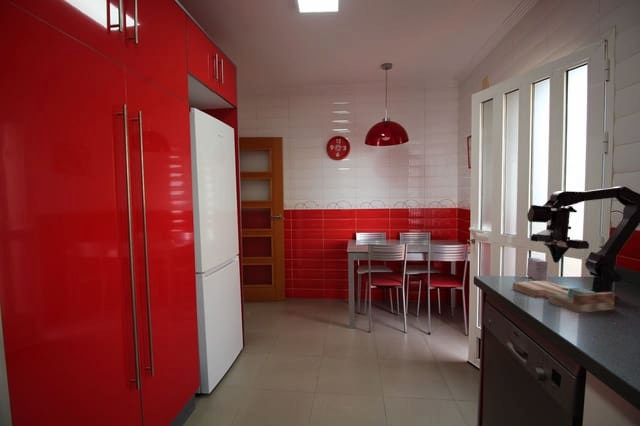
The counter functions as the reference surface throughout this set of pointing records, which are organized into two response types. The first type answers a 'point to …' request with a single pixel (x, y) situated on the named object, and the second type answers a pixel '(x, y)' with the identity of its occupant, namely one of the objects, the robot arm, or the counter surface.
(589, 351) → the counter surface
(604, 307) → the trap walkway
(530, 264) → the medicine box
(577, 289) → the teal block
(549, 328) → the counter surface
